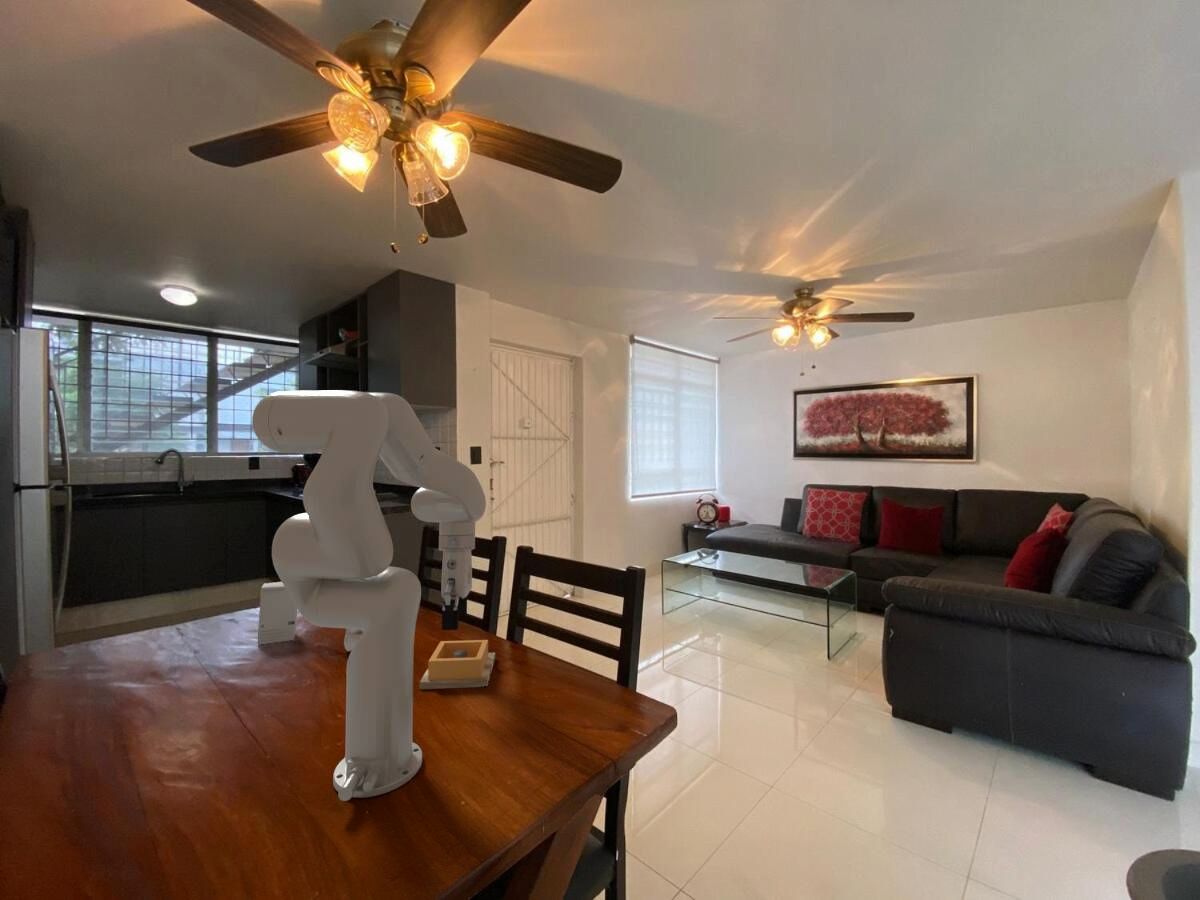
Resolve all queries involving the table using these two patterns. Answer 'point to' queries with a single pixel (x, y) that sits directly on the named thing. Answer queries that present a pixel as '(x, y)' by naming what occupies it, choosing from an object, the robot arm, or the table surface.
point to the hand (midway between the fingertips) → (454, 622)
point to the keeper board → (460, 682)
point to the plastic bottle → (352, 638)
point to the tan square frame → (458, 660)
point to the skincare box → (276, 614)
